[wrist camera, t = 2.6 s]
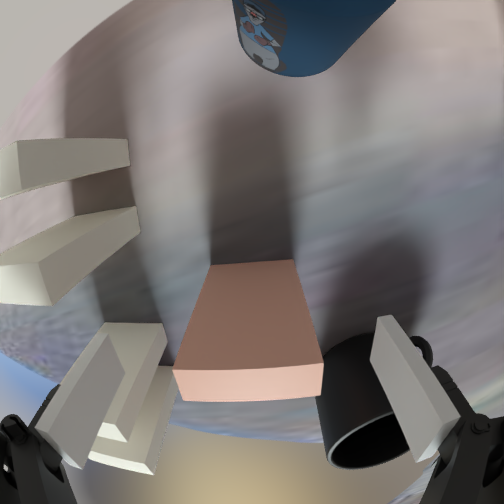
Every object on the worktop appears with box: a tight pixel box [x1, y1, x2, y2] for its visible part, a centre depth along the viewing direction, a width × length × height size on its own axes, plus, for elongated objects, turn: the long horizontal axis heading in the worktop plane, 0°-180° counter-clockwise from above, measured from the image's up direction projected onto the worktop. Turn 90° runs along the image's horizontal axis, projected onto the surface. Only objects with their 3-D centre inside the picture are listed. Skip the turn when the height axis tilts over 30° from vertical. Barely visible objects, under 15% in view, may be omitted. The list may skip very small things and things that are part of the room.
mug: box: [315, 333, 433, 470], centre depth 20 cm, size 9×12×9 cm
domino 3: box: [59, 322, 168, 443], centre depth 18 cm, size 2×6×11 cm, turn 95°
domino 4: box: [88, 366, 179, 475], centre depth 20 cm, size 2×6×11 cm, turn 95°
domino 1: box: [0, 138, 130, 200], centre depth 13 cm, size 2×6×11 cm, turn 95°
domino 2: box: [0, 206, 141, 306], centre depth 15 cm, size 2×6×11 cm, turn 95°
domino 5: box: [172, 259, 324, 402], centre depth 16 cm, size 2×6×11 cm, turn 95°
